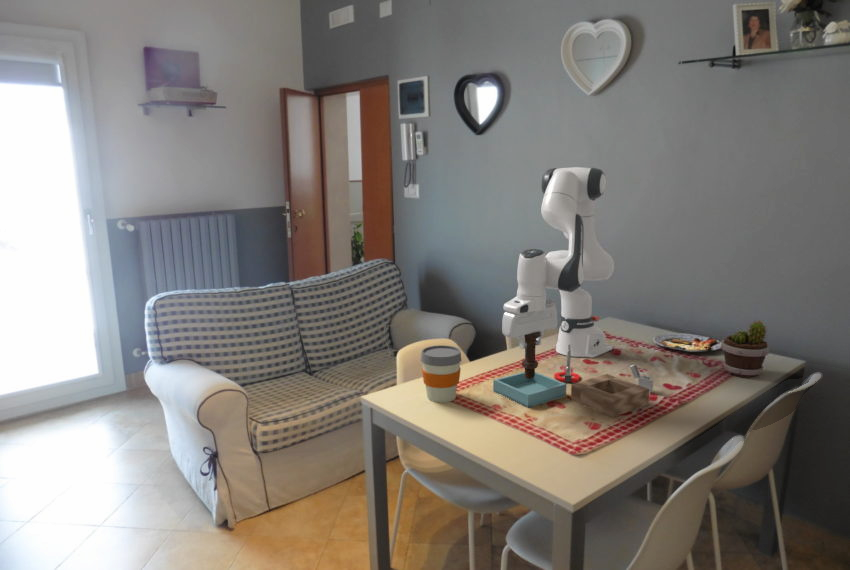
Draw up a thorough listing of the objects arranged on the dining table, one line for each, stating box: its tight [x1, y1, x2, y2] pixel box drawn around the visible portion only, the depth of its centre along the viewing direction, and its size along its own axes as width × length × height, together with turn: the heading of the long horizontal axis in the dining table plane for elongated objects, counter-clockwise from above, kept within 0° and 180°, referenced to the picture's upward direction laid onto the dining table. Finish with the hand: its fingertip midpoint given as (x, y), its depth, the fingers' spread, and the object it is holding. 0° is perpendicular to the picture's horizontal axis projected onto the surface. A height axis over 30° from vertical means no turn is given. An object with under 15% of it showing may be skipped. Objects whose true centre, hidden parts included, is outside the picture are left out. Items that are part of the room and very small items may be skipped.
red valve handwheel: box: [553, 345, 581, 384], centre depth 204 cm, size 8×13×9 cm
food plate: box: [652, 332, 722, 353], centre depth 238 cm, size 25×23×4 cm
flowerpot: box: [720, 317, 771, 379], centre depth 205 cm, size 14×15×20 cm
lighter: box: [629, 363, 654, 394], centre depth 193 cm, size 7×2×8 cm, turn 48°
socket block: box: [570, 373, 650, 418], centre depth 184 cm, size 16×16×5 cm
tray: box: [492, 371, 567, 409], centre depth 191 cm, size 16×16×4 cm
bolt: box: [521, 332, 540, 379], centre depth 189 cm, size 6×5×15 cm
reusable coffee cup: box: [420, 344, 462, 403], centre depth 189 cm, size 13×13×15 cm
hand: (530, 346), depth 188 cm, fingers closed on bolt, 5 cm apart
